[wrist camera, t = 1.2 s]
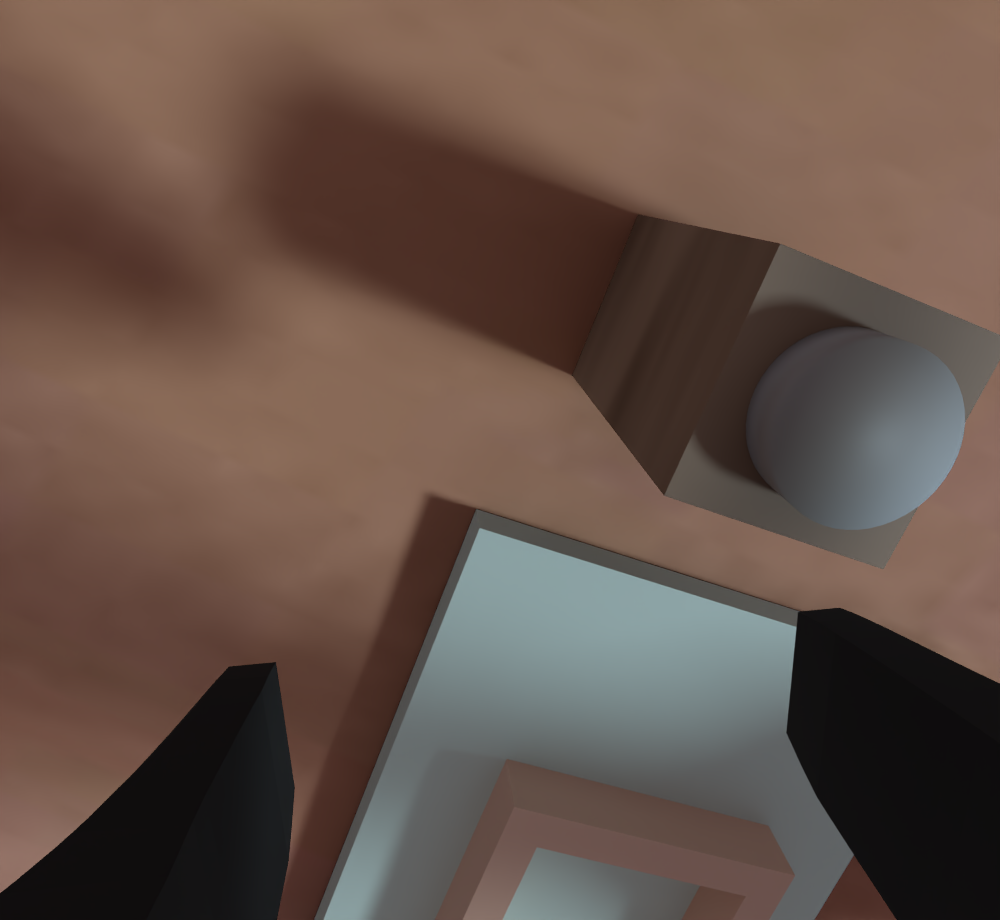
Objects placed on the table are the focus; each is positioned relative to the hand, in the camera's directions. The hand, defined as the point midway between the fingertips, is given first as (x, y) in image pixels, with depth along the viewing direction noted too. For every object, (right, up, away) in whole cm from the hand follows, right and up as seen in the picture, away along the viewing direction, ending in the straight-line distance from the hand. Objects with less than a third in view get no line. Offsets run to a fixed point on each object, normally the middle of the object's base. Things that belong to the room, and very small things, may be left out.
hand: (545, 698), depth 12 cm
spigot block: (+4, +6, +9) cm, 12 cm away
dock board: (+2, -9, +14) cm, 17 cm away
